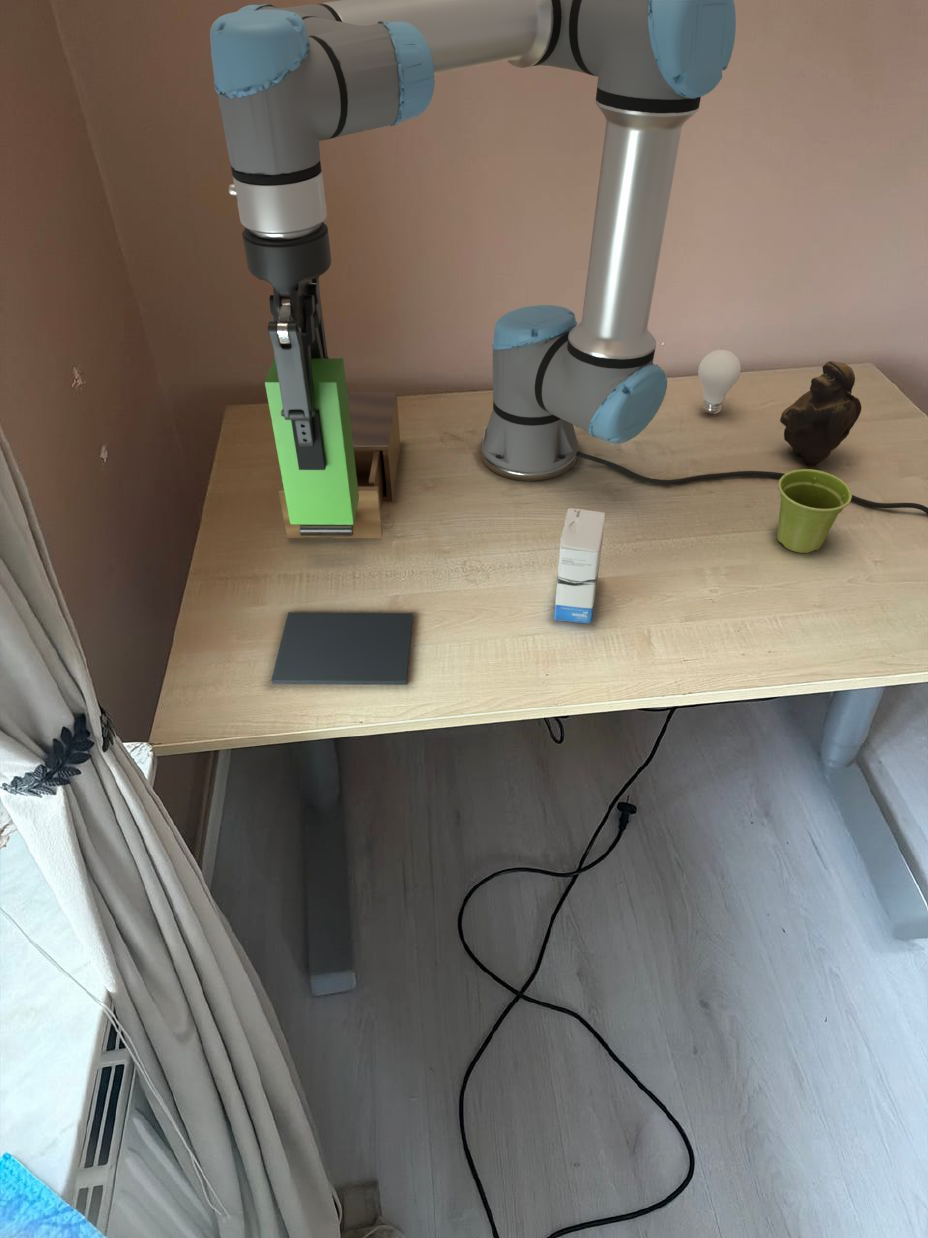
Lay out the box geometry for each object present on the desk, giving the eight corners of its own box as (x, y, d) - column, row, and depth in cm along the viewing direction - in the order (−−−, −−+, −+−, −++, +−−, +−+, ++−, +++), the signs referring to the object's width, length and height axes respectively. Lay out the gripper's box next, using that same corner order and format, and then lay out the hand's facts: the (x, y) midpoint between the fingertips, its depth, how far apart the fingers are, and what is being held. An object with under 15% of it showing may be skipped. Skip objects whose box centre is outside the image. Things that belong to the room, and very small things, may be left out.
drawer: (378, 559, 122) (374, 512, 117) (280, 558, 122) (271, 512, 117) (390, 479, 136) (386, 434, 131) (302, 479, 136) (295, 434, 131)
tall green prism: (359, 498, 101) (343, 357, 90) (353, 525, 97) (336, 382, 86) (297, 498, 101) (274, 357, 90) (290, 524, 98) (264, 381, 86)
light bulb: (735, 423, 148) (748, 361, 141) (694, 423, 148) (706, 361, 141) (726, 402, 153) (739, 342, 146) (687, 403, 153) (698, 342, 146)
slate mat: (413, 616, 115) (412, 612, 114) (406, 684, 106) (406, 681, 105) (288, 615, 115) (288, 612, 115) (272, 683, 106) (271, 680, 106)
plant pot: (835, 527, 127) (853, 475, 121) (833, 567, 121) (851, 515, 115) (768, 515, 129) (781, 464, 124) (761, 553, 123) (775, 501, 117)
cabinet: (392, 501, 133) (387, 445, 127) (295, 501, 134) (285, 445, 127) (400, 445, 145) (396, 391, 138) (310, 445, 145) (302, 391, 139)
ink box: (591, 625, 113) (600, 552, 105) (552, 620, 114) (557, 547, 106) (598, 582, 119) (606, 510, 111) (560, 578, 120) (566, 505, 112)
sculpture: (752, 432, 139) (812, 344, 133) (795, 450, 145) (854, 367, 139) (794, 465, 132) (859, 373, 125) (838, 483, 138) (902, 396, 131)
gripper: (261, 191, 85) (295, 409, 101) (218, 263, 72) (264, 502, 88) (340, 190, 85) (361, 410, 101) (310, 263, 72) (341, 502, 88)
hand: (316, 452), depth 94 cm, fingers closed on tall green prism, 5 cm apart
